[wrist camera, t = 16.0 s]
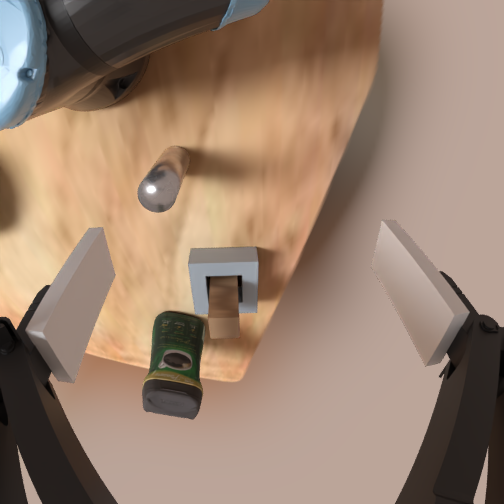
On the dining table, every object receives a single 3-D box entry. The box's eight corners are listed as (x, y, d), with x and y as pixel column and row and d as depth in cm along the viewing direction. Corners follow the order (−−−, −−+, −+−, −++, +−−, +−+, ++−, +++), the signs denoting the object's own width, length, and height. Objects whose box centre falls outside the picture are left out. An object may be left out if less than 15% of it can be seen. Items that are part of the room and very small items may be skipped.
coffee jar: (152, 334, 58) (137, 417, 42) (157, 305, 54) (138, 394, 38) (200, 344, 60) (196, 427, 44) (209, 317, 56) (206, 406, 40)
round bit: (162, 175, 41) (140, 213, 31) (159, 147, 39) (135, 177, 29) (190, 173, 41) (178, 211, 31) (189, 145, 39) (174, 174, 29)
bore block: (196, 298, 53) (195, 314, 50) (190, 248, 48) (188, 263, 44) (255, 296, 54) (257, 312, 50) (256, 246, 48) (258, 261, 45)
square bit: (212, 284, 52) (210, 338, 42) (211, 264, 49) (207, 318, 39) (237, 283, 52) (239, 337, 42) (236, 263, 50) (239, 317, 40)
